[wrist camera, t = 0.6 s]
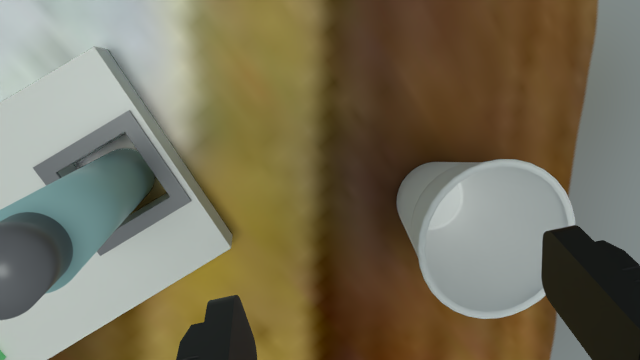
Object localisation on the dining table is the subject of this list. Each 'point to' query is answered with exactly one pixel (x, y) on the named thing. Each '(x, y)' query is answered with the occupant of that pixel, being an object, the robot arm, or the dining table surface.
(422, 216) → the cup
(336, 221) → the dining table surface
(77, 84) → the panel
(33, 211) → the plug
